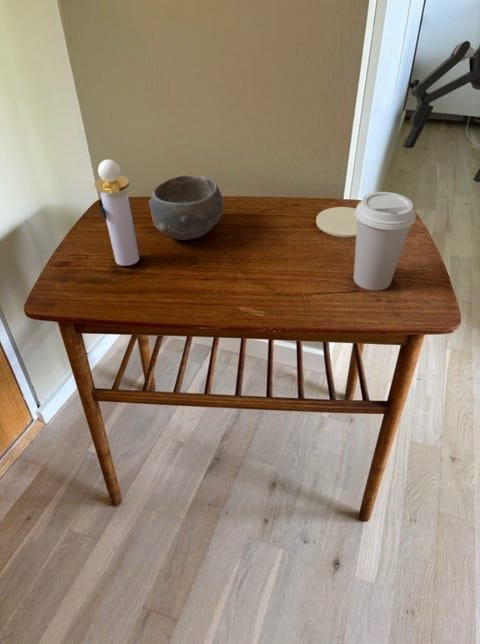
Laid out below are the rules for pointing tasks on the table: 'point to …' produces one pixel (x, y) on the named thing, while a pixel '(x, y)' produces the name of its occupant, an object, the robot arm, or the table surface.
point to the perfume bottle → (117, 212)
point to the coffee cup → (380, 237)
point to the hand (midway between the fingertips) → (443, 164)
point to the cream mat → (338, 221)
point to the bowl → (186, 206)
